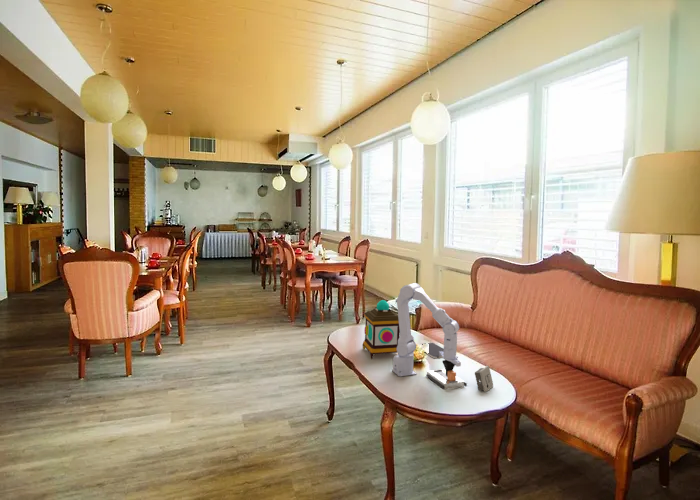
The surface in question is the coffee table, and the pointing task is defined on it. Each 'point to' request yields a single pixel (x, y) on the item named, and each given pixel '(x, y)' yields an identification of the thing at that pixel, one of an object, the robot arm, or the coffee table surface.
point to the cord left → (435, 381)
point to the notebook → (434, 350)
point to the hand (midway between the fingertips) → (448, 376)
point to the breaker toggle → (451, 375)
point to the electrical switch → (484, 379)
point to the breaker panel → (445, 379)
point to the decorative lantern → (381, 330)
